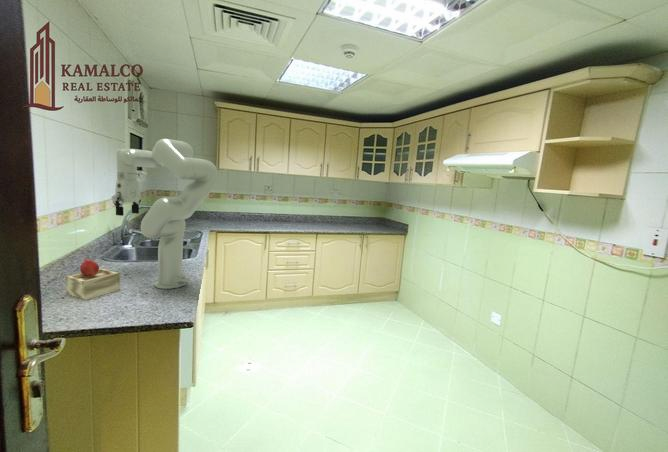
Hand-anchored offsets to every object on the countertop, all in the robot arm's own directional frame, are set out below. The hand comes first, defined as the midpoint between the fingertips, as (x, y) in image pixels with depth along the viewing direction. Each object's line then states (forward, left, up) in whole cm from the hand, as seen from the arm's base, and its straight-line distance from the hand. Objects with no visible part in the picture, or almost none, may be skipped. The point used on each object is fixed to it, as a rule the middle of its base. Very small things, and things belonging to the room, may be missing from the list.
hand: (127, 214), depth 145 cm
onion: (-5, +24, -22) cm, 33 cm away
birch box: (-4, +24, -29) cm, 38 cm away
